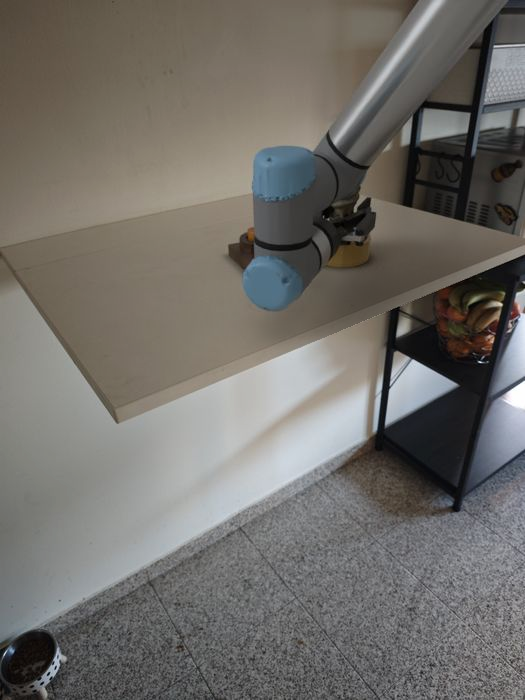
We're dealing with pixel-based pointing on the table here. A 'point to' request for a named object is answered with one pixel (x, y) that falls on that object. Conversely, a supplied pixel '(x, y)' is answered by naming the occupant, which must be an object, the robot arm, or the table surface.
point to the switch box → (242, 251)
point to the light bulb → (345, 207)
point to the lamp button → (251, 234)
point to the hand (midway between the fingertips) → (352, 202)
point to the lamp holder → (351, 254)
